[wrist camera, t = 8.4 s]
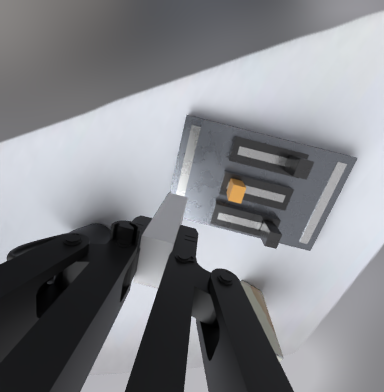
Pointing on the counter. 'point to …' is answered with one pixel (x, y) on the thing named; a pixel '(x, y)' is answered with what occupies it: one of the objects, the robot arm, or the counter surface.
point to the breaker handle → (236, 190)
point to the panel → (219, 162)
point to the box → (262, 316)
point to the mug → (93, 231)
